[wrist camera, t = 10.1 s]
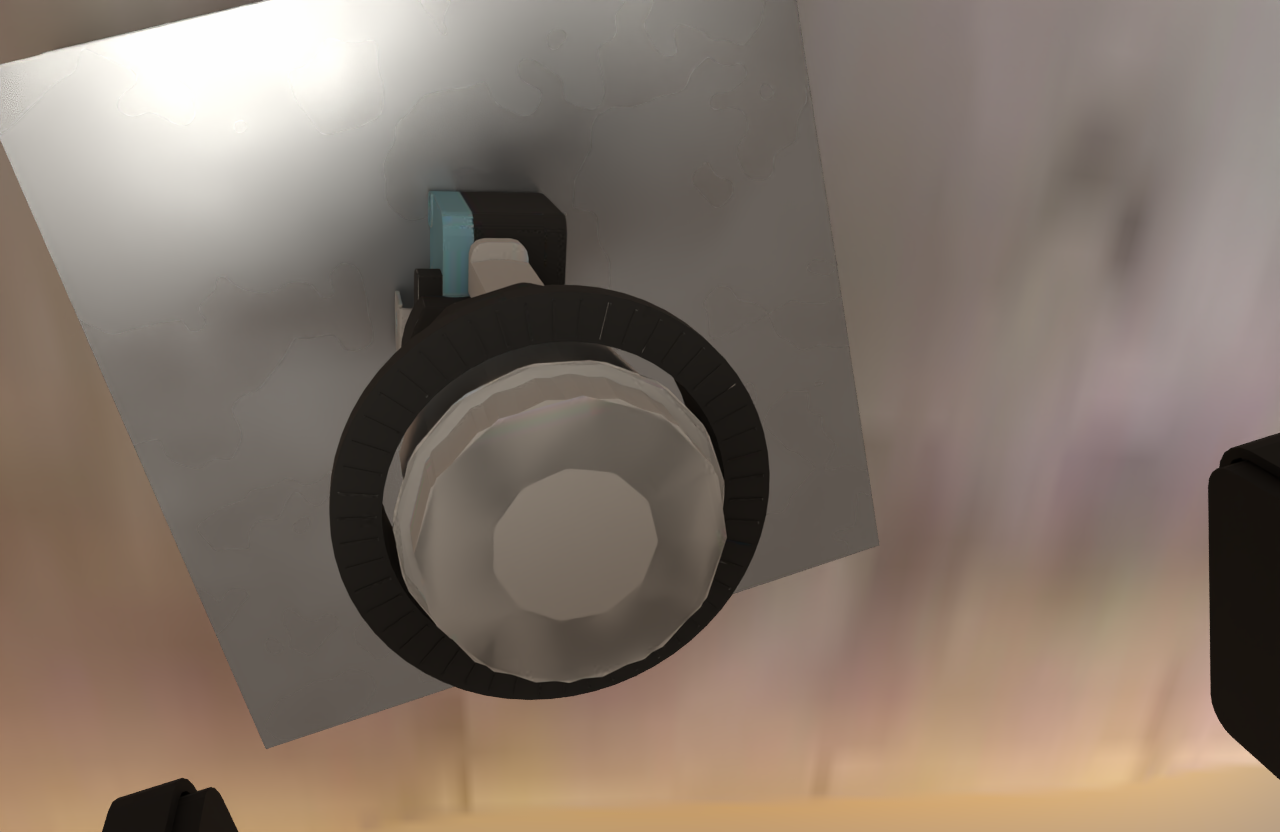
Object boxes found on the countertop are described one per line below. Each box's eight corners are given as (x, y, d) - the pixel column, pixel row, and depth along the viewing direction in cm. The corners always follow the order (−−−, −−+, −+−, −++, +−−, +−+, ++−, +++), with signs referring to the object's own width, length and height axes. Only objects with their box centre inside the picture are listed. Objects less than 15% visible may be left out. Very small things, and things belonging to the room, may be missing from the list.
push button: (600, 497, 24) (765, 812, 15) (335, 509, 23) (339, 863, 14) (617, 174, 22) (823, 313, 13) (325, 167, 20) (321, 317, 11)
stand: (684, -100, 26) (778, -121, 21) (784, 447, 32) (879, 545, 26) (51, 50, 24) (-30, 71, 19) (277, 607, 30) (265, 749, 24)
